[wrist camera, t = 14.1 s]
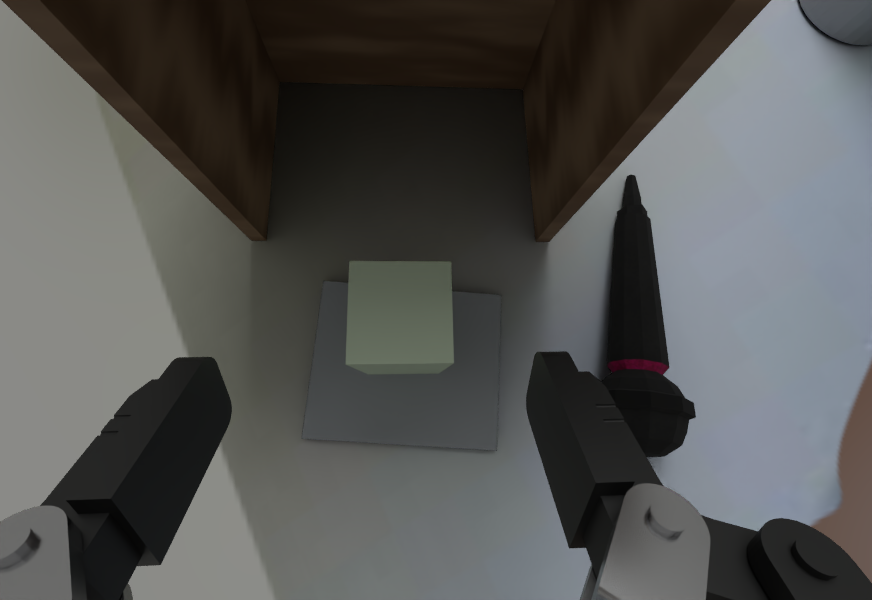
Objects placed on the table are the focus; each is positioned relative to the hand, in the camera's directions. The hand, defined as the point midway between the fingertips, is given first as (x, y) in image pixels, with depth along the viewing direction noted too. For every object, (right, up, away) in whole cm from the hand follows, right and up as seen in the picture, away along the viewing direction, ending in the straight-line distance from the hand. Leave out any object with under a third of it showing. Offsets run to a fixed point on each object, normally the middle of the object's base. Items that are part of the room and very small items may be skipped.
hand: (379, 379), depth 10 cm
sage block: (-1, -1, +16) cm, 16 cm away
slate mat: (0, -2, +16) cm, 16 cm away
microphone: (+15, +1, +18) cm, 24 cm away
